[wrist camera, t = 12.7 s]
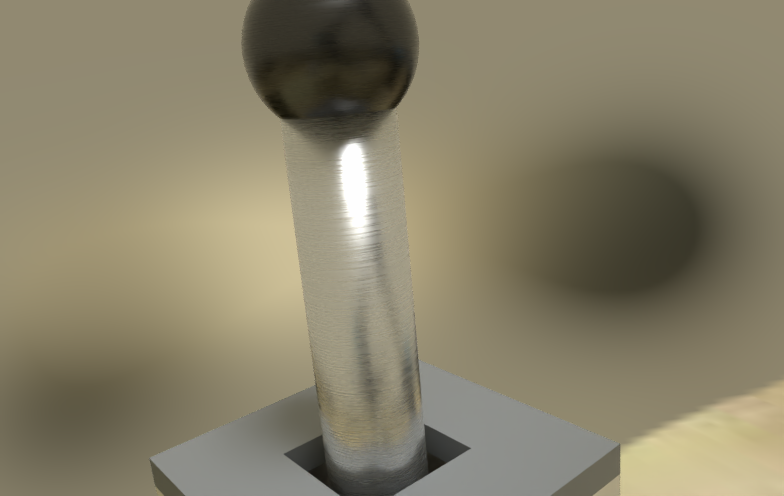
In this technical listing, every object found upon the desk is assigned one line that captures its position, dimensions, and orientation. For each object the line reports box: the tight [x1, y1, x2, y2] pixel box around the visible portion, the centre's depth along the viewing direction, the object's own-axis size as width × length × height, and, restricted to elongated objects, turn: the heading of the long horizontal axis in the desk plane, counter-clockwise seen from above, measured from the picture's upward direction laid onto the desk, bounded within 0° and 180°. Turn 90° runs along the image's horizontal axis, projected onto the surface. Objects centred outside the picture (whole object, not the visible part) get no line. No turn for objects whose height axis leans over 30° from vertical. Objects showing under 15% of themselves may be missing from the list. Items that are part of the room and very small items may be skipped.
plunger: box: [242, 0, 428, 496], centre depth 20 cm, size 7×7×26 cm
